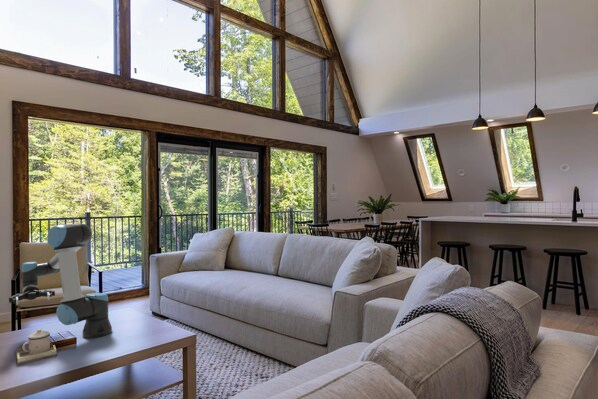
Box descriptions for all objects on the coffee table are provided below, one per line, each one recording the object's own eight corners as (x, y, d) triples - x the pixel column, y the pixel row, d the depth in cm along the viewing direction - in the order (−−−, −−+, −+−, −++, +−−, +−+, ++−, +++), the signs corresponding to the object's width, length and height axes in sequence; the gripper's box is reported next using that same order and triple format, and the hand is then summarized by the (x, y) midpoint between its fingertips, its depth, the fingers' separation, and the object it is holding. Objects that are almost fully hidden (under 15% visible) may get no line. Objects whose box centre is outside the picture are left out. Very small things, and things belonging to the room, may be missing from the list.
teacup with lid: (44, 347, 197) (44, 325, 197) (54, 350, 193) (53, 328, 192) (18, 356, 187) (17, 332, 187) (27, 360, 182) (27, 336, 182)
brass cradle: (17, 357, 186) (17, 353, 186) (54, 348, 195) (54, 344, 195) (17, 362, 180) (17, 358, 179) (56, 353, 189) (56, 349, 189)
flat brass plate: (16, 351, 195) (16, 349, 195) (53, 343, 205) (52, 341, 205) (17, 364, 179) (17, 362, 179) (57, 355, 189) (57, 353, 189)
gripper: (57, 294, 222) (61, 301, 205) (3, 303, 206) (3, 311, 190) (57, 281, 222) (61, 288, 205) (3, 289, 206) (2, 296, 189)
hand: (33, 299), depth 197 cm, fingers open, 13 cm apart
